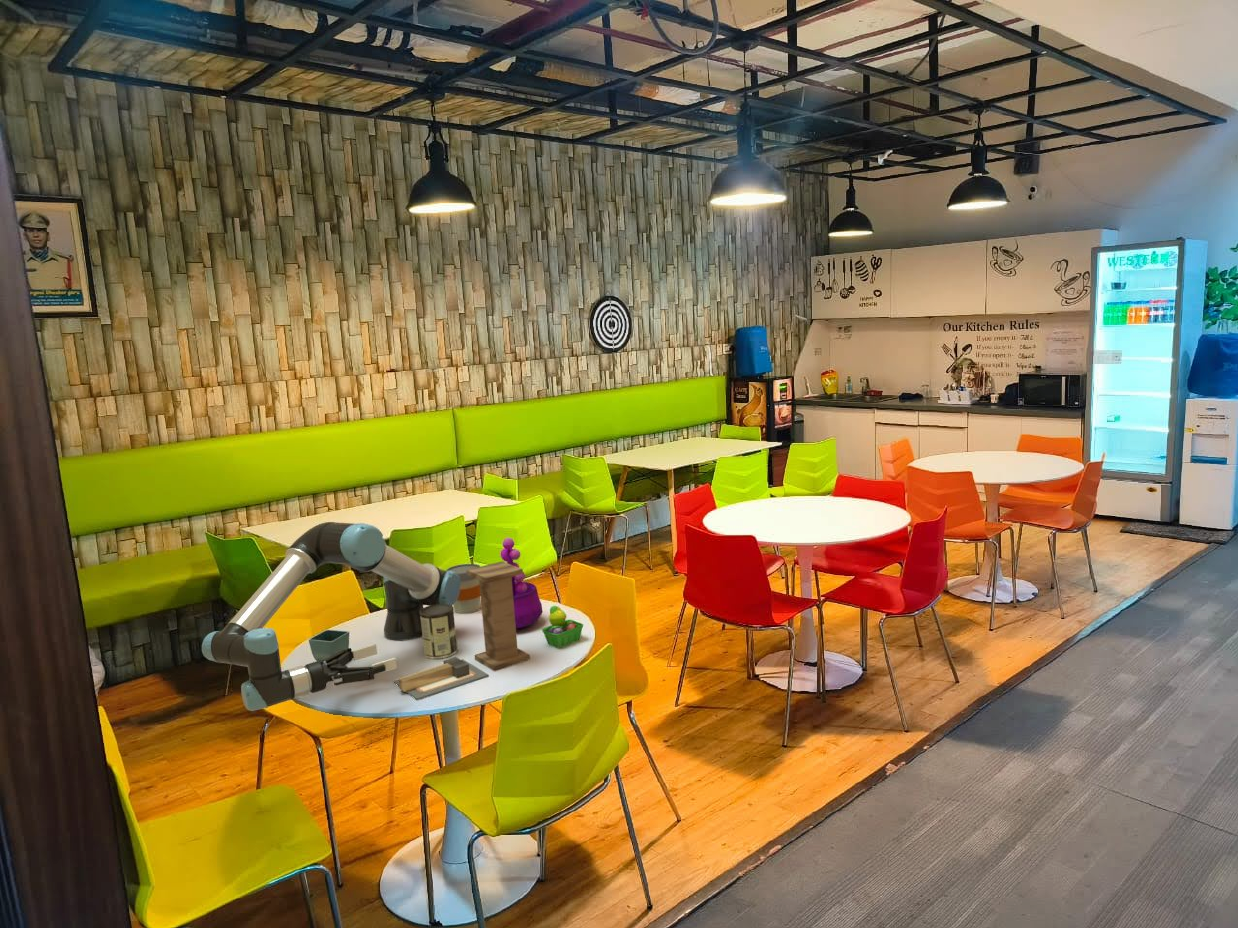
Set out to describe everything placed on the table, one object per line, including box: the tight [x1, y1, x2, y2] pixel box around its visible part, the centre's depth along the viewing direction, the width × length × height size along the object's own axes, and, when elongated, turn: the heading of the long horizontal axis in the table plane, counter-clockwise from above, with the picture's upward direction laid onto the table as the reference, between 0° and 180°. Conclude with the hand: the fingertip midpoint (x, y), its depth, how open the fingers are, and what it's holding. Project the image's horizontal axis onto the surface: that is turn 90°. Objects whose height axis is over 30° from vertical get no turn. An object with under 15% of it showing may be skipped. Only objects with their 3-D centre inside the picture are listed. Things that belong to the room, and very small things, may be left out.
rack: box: [467, 560, 531, 672], centre depth 251 cm, size 12×12×28 cm
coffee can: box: [419, 604, 458, 660], centre depth 261 cm, size 10×10×14 cm
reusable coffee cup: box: [445, 563, 481, 615], centre depth 300 cm, size 12×13×15 cm
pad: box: [392, 658, 490, 701], centre depth 241 cm, size 16×22×1 cm
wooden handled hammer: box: [398, 656, 470, 693], centre depth 239 cm, size 8×19×3 cm, turn 129°
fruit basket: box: [541, 605, 584, 649], centre depth 264 cm, size 11×9×11 cm
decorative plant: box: [499, 537, 543, 629], centre depth 279 cm, size 19×18×30 cm
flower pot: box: [308, 629, 350, 662], centre depth 258 cm, size 9×9×9 cm
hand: (385, 655), depth 230 cm, fingers open, 13 cm apart
